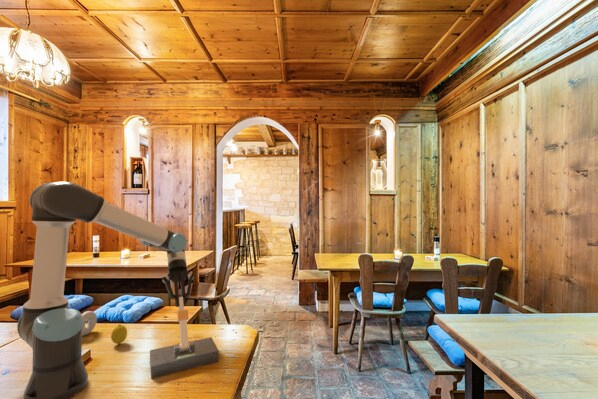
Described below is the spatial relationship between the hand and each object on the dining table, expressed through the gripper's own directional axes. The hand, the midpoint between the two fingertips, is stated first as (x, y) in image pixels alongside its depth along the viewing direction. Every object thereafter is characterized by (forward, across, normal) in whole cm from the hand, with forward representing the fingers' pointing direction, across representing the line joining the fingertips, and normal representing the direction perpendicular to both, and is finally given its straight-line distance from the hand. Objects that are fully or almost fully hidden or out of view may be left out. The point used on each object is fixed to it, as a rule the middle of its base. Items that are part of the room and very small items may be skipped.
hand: (181, 313), depth 115 cm
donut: (-13, +35, -34) cm, 50 cm away
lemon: (-1, +22, -22) cm, 31 cm away
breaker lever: (+14, 0, 0) cm, 14 cm away
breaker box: (+17, 0, -3) cm, 17 cm away
